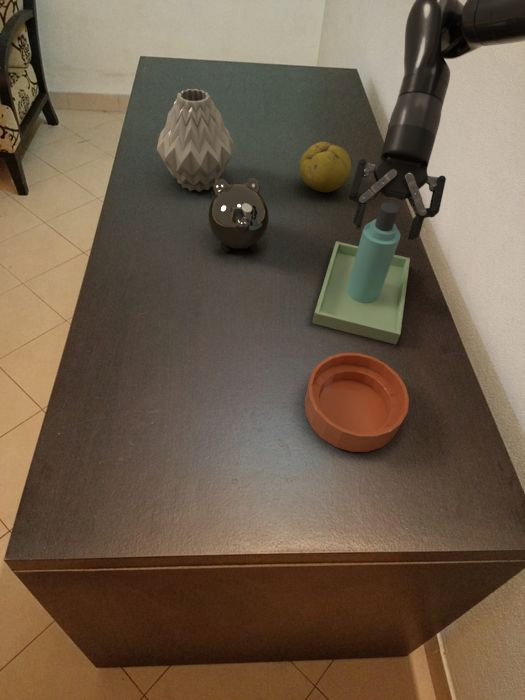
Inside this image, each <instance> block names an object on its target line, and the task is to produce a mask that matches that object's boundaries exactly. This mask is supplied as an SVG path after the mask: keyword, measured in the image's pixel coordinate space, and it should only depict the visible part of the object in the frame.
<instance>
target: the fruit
mask: <svg viewBox="0 0 525 700" xmlns="http://www.w3.org/2000/svg"><path fill="white" fill-rule="evenodd" d="M351 169H352V162H351V158H350V155H349V154H348V152H347V151H346V149H344V148H343V147H342V146H339V145H336V144H332V143H331V142H327V141H318V142H317V143H313V144H312V145H311V146H310V147H309V148H307V150H306V151H305V152H304V153H303V154H302V157H301V159H300V160H299V172H300V178H301V180H302V182H303V183H304V184H305V185H306V186H308V187H309V188H310V189H312V190H314V191H317V192H320V193H330V192H333V191H336V190H338V189H339V188H341V187H342V186H343V185H344V184H345V183H346V182H347V180H348V178H349V175H350V173H351Z"/></svg>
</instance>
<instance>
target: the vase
mask: <svg viewBox="0 0 525 700" xmlns="http://www.w3.org/2000/svg"><path fill="white" fill-rule="evenodd" d="M157 142H158V143H157V147H156V151H157V153H158V155H159V156H160V157H161V159H162V161H163V163H164V165H165V166H166V169H167V170H168V171H169V173H170V174H171V175H172V177H173V179H176V182H177V184H180V185H181V188H182V189H187V190H188V191H190V192H192V191H197V192H201V191H203V190H206V191H209V190H210V189H211V188H213V185H214V182H215V181H216V180H217V179H220V177H222V176H223V175H224V173H225V170H226V167H227V165H228V164H229V162H230V159H231V158H232V155H233V153H234V150H235V148H236V145H235V143H234V141H233V139H232V136H231V134H230V132H229V130H228V129H227V128H226V126H225V124H224V121H223V118H222V115H221V111H219V110H218V108H217V107H216V105H215V102H214V101H213V100H212V99H211V96H210V94H209V92H206V91H204V89H197V88H194V89H191V88H187V89H186V90H185V89H184V90H183V89H181V92H178V93H177V97H176V99H175V101H173V105H172V107H171V109H170V110H169V112H168V113H167V117H166V121H165V125H164V127H163V129H162V130H161V131H160V133H159V136H158V138H157Z"/></svg>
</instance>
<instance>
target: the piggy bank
mask: <svg viewBox="0 0 525 700" xmlns="http://www.w3.org/2000/svg"><path fill="white" fill-rule="evenodd" d="M260 187H261V186H260V183H259V181H258V180H257V179H256V178H254V177H250V178H248V179H247V180H246V182H245V183H239V182H237V183H231V184H230V183H228V182H227V181H226V180H225V179H223V178H219V179H217V180H216V181H215V182H214V185H213V187H212V191H213V198H212V200H211V202H210V205H209V209H208V224H209V227H210V229H211V232H212V233H213V235H214V237H215V238H216V239H217V240H218V241H219V242H220V250H221V251H222V252H223V253H228V252H230V251H231V250H232V249H236V250H243V249H247V250H249V251H250V252H256V251H257V250H258V242H259V241H260V240H261V239H262V238H263V237H264V235H265V234H266V232H267V229H268V226H269V219H270V217H269V210H268V206H267V204H266V202H265V200H264V199H263V197H262V195H261V194H260V190H261V189H260Z"/></svg>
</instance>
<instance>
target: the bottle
mask: <svg viewBox="0 0 525 700" xmlns="http://www.w3.org/2000/svg"><path fill="white" fill-rule="evenodd" d="M399 211H400V208H399V206H398V205H397V204H395V203H393V202H387V201H386V202H383V203H381V205H380V206H379V210H378V213H377V216H376V218H374V219H373V220H372V221H369V222H367V223H366V224H365V225H364V226H363V228H362V232H361V236H360V239H359V242H358V245H357V246H358V250H357V253H356V257H355V260H354V264H353V267H352V271H351V275H350V278H349V282H348V285H347V293H348V294H349V296H350V297H351V298H352V299H354V300H356V301H358V302H362V303H371V302H374V301H376V300H377V299H378V298H379V295H380V293H381V290H382V287H383V284H384V281H385V279H386V276H387V273H388V270H389V268H390V265H391V262H392V259H393V256H394V255H396V254H395V253H396V251H397V247H398V245H399V243H400V239H401V232H400V230H399V229H398V226H397V225H396V224H395V223H396V219H397V217H398V214H399Z"/></svg>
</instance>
